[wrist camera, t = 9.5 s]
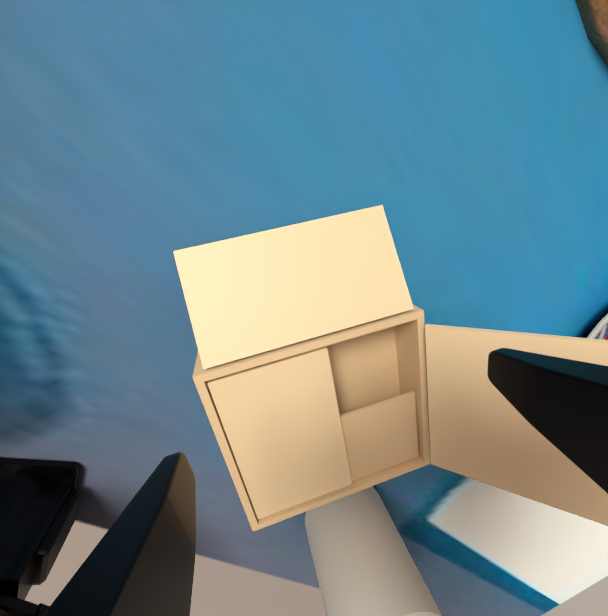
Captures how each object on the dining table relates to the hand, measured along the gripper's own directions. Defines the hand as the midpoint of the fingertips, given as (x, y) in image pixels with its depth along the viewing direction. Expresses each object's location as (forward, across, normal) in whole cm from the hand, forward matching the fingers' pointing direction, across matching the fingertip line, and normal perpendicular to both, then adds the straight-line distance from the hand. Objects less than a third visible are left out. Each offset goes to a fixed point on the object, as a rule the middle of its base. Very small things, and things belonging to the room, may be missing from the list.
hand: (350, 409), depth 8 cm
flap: (+9, -8, +10) cm, 16 cm away
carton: (+13, -1, +6) cm, 15 cm away
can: (+13, -1, +22) cm, 26 cm away
